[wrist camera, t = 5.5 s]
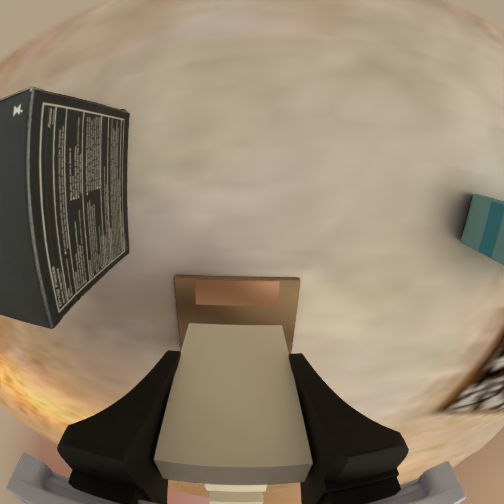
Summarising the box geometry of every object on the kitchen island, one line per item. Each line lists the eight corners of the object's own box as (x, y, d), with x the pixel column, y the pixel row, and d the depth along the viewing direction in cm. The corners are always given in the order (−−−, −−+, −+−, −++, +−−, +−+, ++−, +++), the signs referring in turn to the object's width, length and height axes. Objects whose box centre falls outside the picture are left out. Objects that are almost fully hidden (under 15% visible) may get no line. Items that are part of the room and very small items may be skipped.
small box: (59, 120, 16) (-42, 114, 6) (132, 109, 16) (38, 77, 6) (63, 251, 19) (-21, 311, 9) (131, 255, 20) (57, 334, 10)
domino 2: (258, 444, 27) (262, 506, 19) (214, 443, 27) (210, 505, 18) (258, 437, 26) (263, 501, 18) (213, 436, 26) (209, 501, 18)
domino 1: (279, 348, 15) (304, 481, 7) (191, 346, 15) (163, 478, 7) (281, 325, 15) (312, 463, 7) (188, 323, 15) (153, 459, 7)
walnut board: (274, 446, 28) (274, 450, 27) (198, 445, 27) (197, 449, 27) (298, 277, 21) (300, 281, 20) (175, 274, 20) (174, 278, 20)
